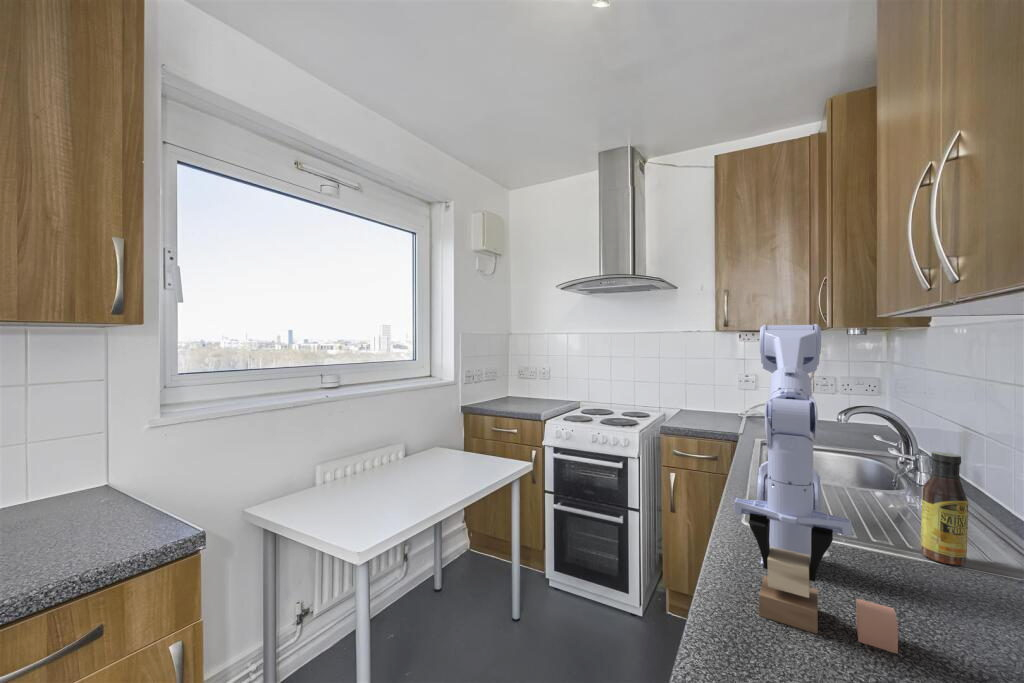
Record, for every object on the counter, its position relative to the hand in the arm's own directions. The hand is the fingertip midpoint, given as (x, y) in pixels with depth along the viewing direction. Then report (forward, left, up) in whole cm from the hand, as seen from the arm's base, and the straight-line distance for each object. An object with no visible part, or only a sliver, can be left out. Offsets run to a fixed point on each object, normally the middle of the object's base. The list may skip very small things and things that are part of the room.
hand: (789, 572), depth 65 cm
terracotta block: (0, +10, -6) cm, 12 cm away
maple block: (0, 0, -2) cm, 2 cm away
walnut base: (0, 0, -6) cm, 6 cm away
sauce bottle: (-38, +23, -6) cm, 45 cm away
